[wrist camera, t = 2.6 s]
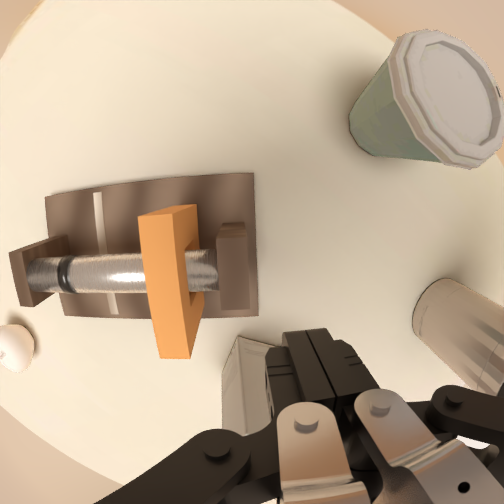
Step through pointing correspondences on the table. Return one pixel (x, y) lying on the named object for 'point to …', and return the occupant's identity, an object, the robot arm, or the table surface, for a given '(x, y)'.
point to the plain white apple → (16, 347)
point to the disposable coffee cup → (431, 104)
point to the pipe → (114, 273)
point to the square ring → (171, 278)
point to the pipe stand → (128, 241)
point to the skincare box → (245, 388)
